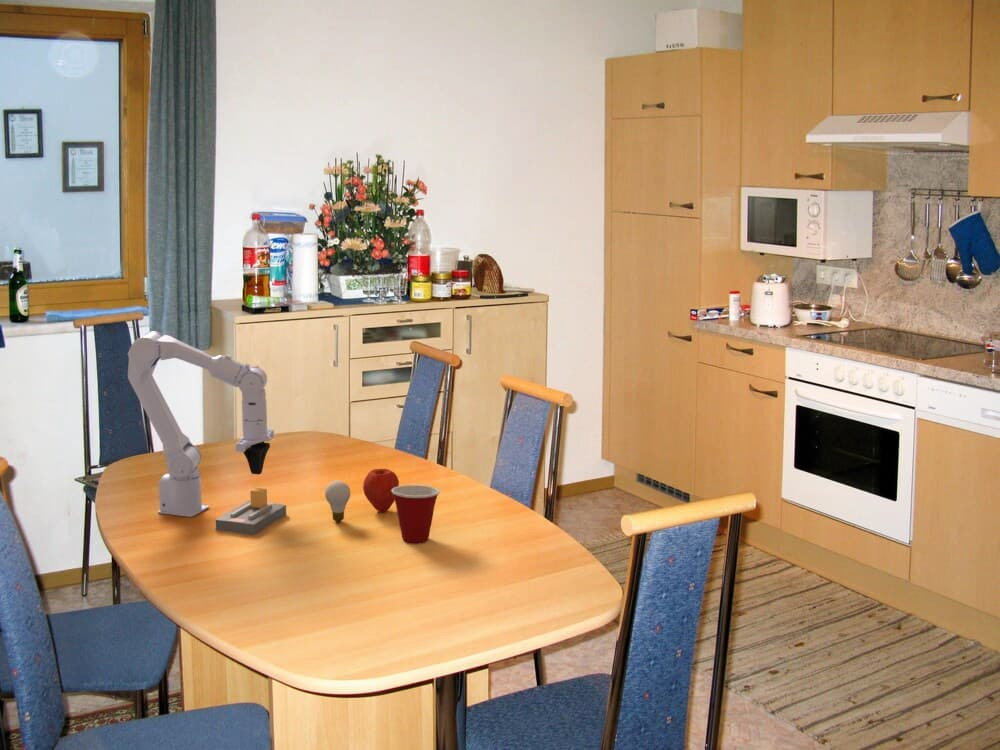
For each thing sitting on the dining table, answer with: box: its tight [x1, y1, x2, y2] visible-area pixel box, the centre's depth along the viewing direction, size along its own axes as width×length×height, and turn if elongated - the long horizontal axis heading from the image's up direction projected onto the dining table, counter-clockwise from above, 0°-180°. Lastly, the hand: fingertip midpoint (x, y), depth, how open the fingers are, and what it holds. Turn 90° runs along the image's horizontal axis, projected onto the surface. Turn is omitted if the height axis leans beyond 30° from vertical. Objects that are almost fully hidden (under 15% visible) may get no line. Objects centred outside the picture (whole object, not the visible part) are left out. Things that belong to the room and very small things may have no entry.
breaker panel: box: [215, 500, 287, 536], centre depth 262 cm, size 10×15×3 cm, turn 162°
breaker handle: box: [249, 487, 268, 508], centre depth 264 cm, size 3×2×4 cm
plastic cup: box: [391, 484, 441, 545], centre depth 251 cm, size 11×11×12 cm
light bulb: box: [324, 480, 351, 523], centre depth 262 cm, size 6×6×10 cm
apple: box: [362, 468, 400, 513], centre depth 270 cm, size 9×8×11 cm
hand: (256, 473), depth 269 cm, fingers closed
